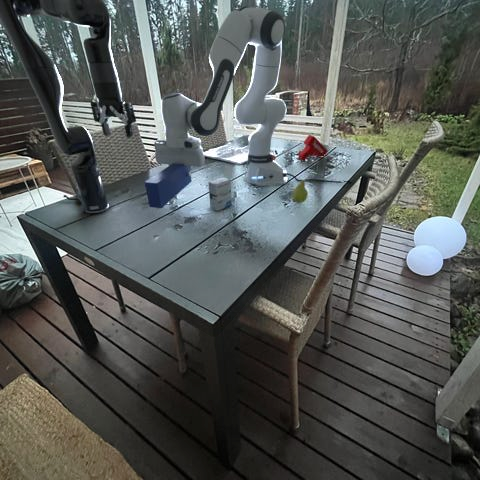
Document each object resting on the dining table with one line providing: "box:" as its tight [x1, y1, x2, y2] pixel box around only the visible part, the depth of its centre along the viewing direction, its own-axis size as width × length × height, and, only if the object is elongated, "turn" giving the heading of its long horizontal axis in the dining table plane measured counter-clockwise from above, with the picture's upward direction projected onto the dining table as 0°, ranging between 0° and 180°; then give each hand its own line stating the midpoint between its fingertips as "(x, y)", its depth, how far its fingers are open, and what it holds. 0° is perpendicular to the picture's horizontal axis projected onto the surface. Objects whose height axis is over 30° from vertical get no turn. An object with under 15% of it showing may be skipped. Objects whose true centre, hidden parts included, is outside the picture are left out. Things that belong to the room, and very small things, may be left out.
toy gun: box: [297, 134, 328, 162], centre depth 175 cm, size 18×4×15 cm
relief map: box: [203, 141, 249, 165], centre depth 185 cm, size 27×35×5 cm
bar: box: [144, 163, 192, 209], centre depth 105 cm, size 27×5×9 cm, turn 166°
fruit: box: [291, 174, 311, 204], centre depth 118 cm, size 7×8×12 cm
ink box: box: [207, 177, 232, 212], centre depth 115 cm, size 8×5×12 cm, turn 134°
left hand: (118, 136), depth 92 cm, fingers open, 8 cm apart
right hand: (181, 175), depth 113 cm, fingers closed on bar, 5 cm apart
